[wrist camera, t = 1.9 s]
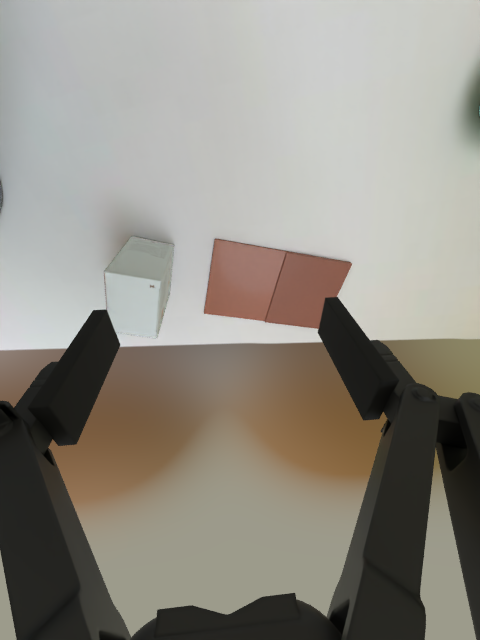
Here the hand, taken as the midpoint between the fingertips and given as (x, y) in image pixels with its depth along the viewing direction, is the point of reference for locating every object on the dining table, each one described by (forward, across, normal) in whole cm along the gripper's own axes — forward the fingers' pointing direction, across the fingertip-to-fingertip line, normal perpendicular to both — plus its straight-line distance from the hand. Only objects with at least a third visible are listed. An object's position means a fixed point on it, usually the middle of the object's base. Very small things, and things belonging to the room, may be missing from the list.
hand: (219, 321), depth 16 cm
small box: (+22, -9, -6) cm, 24 cm away
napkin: (+21, +8, -10) cm, 25 cm away
